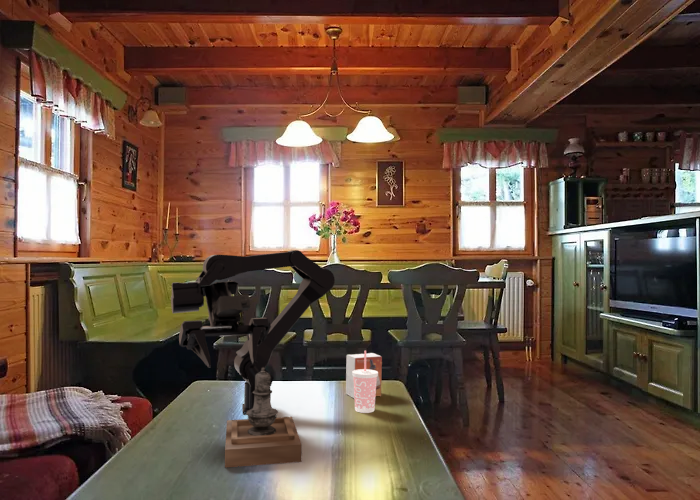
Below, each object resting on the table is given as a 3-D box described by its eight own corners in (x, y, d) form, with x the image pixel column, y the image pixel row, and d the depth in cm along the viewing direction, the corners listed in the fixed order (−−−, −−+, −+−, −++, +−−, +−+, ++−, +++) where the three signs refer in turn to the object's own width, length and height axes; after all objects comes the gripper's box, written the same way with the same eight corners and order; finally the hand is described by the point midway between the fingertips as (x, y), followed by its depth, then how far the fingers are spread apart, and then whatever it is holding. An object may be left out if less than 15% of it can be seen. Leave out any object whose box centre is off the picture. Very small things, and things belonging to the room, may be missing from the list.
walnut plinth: (226, 435, 101) (227, 416, 101) (291, 431, 104) (292, 412, 104) (224, 467, 85) (225, 444, 85) (301, 461, 88) (301, 439, 88)
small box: (353, 399, 129) (354, 357, 129) (345, 394, 134) (345, 354, 134) (382, 396, 132) (382, 355, 132) (372, 391, 137) (372, 352, 137)
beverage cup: (346, 409, 120) (347, 350, 120) (366, 404, 124) (366, 347, 124) (363, 415, 115) (363, 353, 116) (383, 410, 119) (383, 351, 119)
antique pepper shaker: (265, 438, 91) (266, 371, 91) (239, 433, 93) (240, 368, 94) (283, 429, 96) (284, 365, 96) (258, 424, 99) (259, 362, 99)
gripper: (182, 282, 105) (191, 343, 95) (268, 281, 113) (285, 337, 103) (175, 316, 112) (183, 377, 102) (257, 313, 120) (272, 369, 110)
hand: (232, 364), depth 104 cm, fingers open, 9 cm apart
